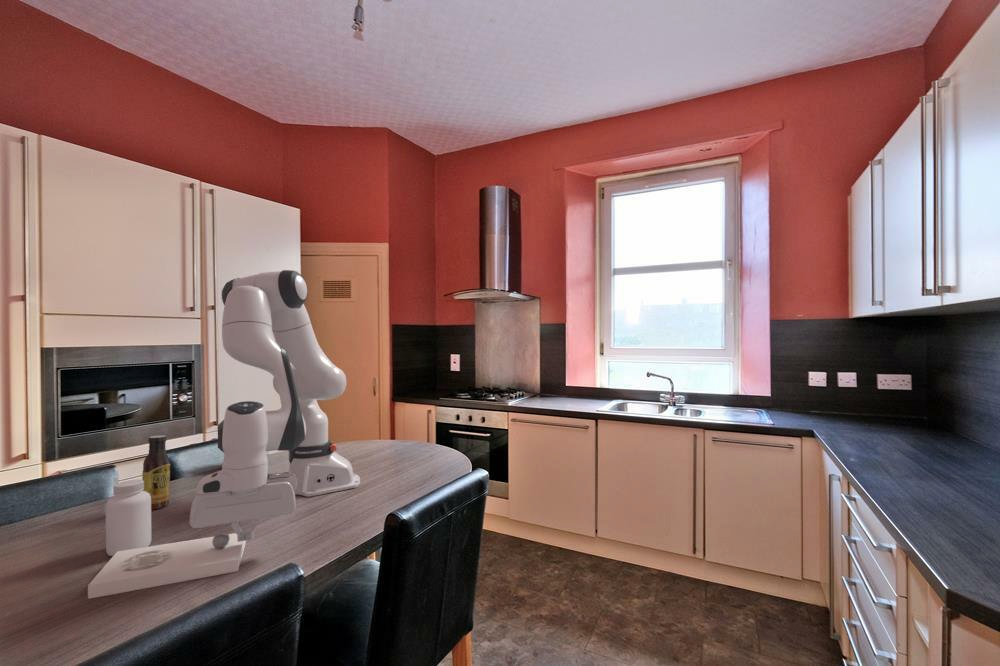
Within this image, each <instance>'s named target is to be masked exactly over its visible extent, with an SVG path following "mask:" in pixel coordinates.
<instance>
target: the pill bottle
mask: <svg viewBox="0 0 1000 666" xmlns="http://www.w3.org/2000/svg"><path fill="white" fill-rule="evenodd" d="M143 487H144V481H143V480H142V479H131V480H130V479H129V480H126V481H125V480H124V481H121V482H118V483H115V484H114V485H113V494H112V495H113V496H112V497H111V498H110V499H108V500H107V502H106V504H105V544H106V545H105V547H106V549H105V550H106V554H107V555H108V556H110V557H113V556H114V555H115V554H116V552H118V551H124V550H131V549H137V548H143V547H150V545H151V544H152V510H151V496H150V494H149V493H148V492H146V491H142V490H143V489H144V488H143Z"/></svg>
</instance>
